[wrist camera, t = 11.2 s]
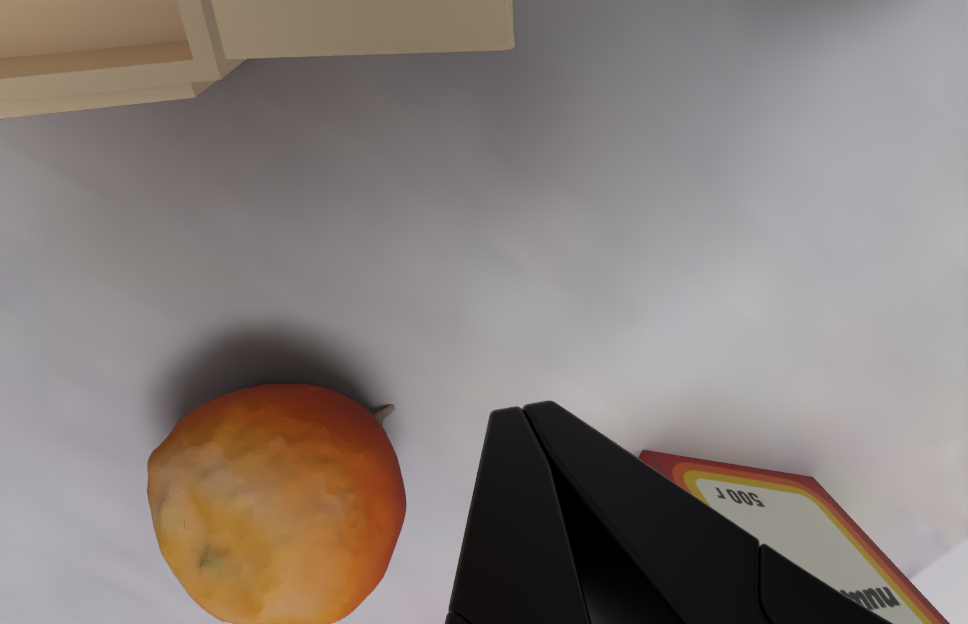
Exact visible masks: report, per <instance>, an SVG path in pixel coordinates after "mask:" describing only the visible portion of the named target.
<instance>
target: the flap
mask: <svg viewBox="0 0 968 624" xmlns="http://www.w3.org/2000/svg"><path fill="white" fill-rule="evenodd" d="M211 2H212V6H213V10H214V14H215V18H216V22H217V26H218V30H219V34H220V38H221V42H222V46H223V49H224V53H225V57H226V59H249V58H281V57H313V56H345V55H377V54H409V53H441V52H473V51H505V50H510V49H513V48H515V44H514V23H513V3H512V0H211Z"/></svg>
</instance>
